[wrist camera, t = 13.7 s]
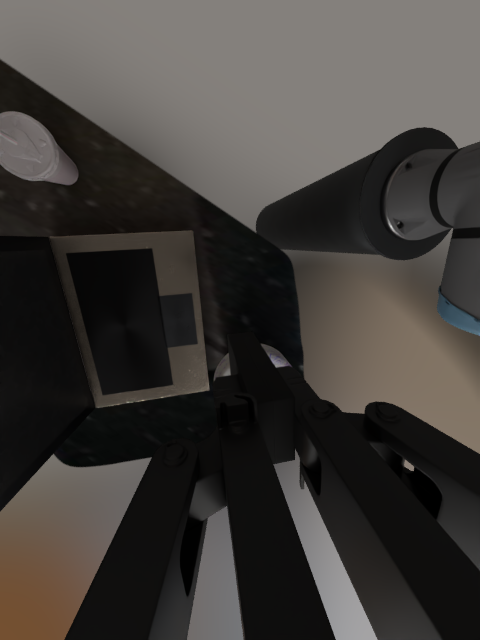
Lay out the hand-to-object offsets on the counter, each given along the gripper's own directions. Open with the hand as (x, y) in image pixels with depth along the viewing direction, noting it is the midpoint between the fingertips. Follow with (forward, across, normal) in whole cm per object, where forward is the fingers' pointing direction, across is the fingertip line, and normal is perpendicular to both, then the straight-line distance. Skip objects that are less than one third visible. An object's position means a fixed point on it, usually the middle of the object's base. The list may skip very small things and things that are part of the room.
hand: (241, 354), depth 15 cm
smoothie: (+31, -20, +18) cm, 41 cm away
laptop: (+31, -13, -6) cm, 34 cm away
